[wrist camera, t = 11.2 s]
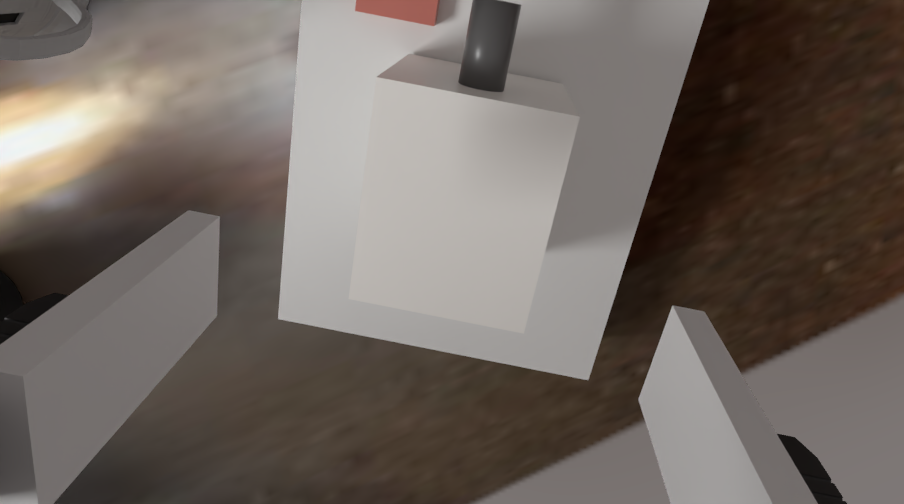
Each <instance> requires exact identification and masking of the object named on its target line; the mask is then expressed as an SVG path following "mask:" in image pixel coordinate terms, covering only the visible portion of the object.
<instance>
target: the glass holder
mask: <svg viewBox="0 0 904 504" xmlns="http://www.w3.org/2000/svg"><path fill="white" fill-rule="evenodd" d="M88 3H89V0H0V60H29V59H42V58H48V57H52V56H57V55H61V54H66V53H70V52H72V51H74V50H76V49H78V48H80V47H82V46H83V45H84V44H85V42H86V41H87V40H88V38H89V37H90V34H91V29H92V21H93V19H92V16H91V14H90V13H89V12H88V11H87V9H86V8H87V6H88Z"/></svg>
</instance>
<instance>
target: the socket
mask: <svg viewBox="0 0 904 504" xmlns="http://www.w3.org/2000/svg"><path fill="white" fill-rule="evenodd" d="M502 1H507V2H512V3H517V4H520V5H521V10H520V15H519V20H518V24H517V29H516V34H515V39H514V44H513V49H512V53H511V58H510V63H509V68H508V73H510V74H515V75H521V76H526V77H531V78H536V79H541V80H546V81H551V82H556V83H562V84H563V85H564V87H565V89H566V91H567V93H568V95H569V96H570V98H571V100H572V102H573V104H574V106H575V108H576V110H577V112H578V114H579V116H580V119H579V123H578V127H577V131H576V134H575V138H574V142H573V146H572V150H571V154H570V158H569V161H568V165H567V169H566V173H565V177H564V181H563V185H562V188H561V192H560V196H559V200H558V204H557V208H556V212H555V215H554V219H553V223H552V227H551V231H550V235H549V239H548V242H547V246H546V250H545V254H544V258H543V262H542V265H541V269H540V273H539V277H538V281H537V285H536V289H535V292H534V296H533V300H532V304H531V308H530V312H529V316H528V319H527V323H526V327H525V331H524V334H523V333H518V332H513V331H508V330H503V329H498V328H493V327H487V326H482V325H477V324H472V323H467V322H462V321H457V320H452V319H447V318H442V317H437V316H432V315H427V314H422V313H417V312H412V311H407V310H402V309H397V308H392V307H386V306H381V305H376V304H371V303H366V302H361V301H356V300H351V299H349V291H350V283H351V275H352V267H353V259H354V251H355V243H356V235H357V227H358V219H359V211H360V203H361V195H362V187H363V179H364V171H365V163H366V155H367V147H368V139H369V131H370V124H371V116H372V108H373V100H374V92H375V84H376V77H377V76H378V75H380V74H381V73H383V72H384V71H385V70H387V69H388V68H390V67H391V66H392V65H394V64H395V63H397V62H398V61H399V60H401V59H402V58H404V57H405V56H406V55H408V54H413V55H418V56H423V57H428V58H433V59H439V60H444V61H449V62H454V63H459V64H462V58H463V52H464V47H465V41H466V35H467V30H468V24H469V18H470V13H471V7H472V2H473V0H302V4H301V17H300V31H299V44H298V58H297V71H296V84H295V98H294V111H293V125H292V138H291V151H290V165H289V178H288V192H287V205H286V219H285V232H284V245H283V259H282V272H281V286H280V299H279V312H278V319H281V320H286V321H291V322H296V323H301V324H306V325H311V326H316V327H321V328H326V329H331V330H336V331H341V332H347V333H352V334H357V335H362V336H367V337H372V338H377V339H382V340H387V341H392V342H397V343H402V344H407V345H412V346H417V347H422V348H427V349H433V350H438V351H443V352H448V353H453V354H458V355H463V356H468V357H473V358H478V359H483V360H488V361H493V362H498V363H503V364H508V365H513V366H519V367H524V368H529V369H534V370H539V371H544V372H549V373H554V374H559V375H564V376H569V377H574V378H579V379H584V380H588V379H589V376H590V373H591V370H592V367H593V364H594V361H595V358H596V354H597V351H598V348H599V345H600V342H601V339H602V336H603V332H604V329H605V326H606V323H607V320H608V317H609V314H610V310H611V307H612V304H613V301H614V298H615V295H616V292H617V289H618V285H619V282H620V279H621V276H622V273H623V270H624V267H625V263H626V260H627V257H628V254H629V251H630V248H631V245H632V242H633V238H634V235H635V232H636V229H637V226H638V223H639V220H640V216H641V213H642V210H643V207H644V204H645V201H646V198H647V194H648V191H649V188H650V185H651V182H652V179H653V176H654V173H655V169H656V166H657V163H658V160H659V157H660V154H661V151H662V147H663V144H664V141H665V138H666V135H667V132H668V129H669V126H670V122H671V119H672V116H673V113H674V110H675V107H676V104H677V100H678V97H679V94H680V91H681V88H682V85H683V82H684V78H685V75H686V72H687V69H688V66H689V63H690V60H691V57H692V53H693V50H694V47H695V44H696V41H697V38H698V35H699V31H700V28H701V25H702V22H703V19H704V16H705V13H706V9H707V6H708V3H709V0H502Z"/></svg>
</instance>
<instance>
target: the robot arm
mask: <svg viewBox="0 0 904 504" xmlns="http://www.w3.org/2000/svg"><path fill="white" fill-rule="evenodd" d="M219 232H220V216H216V215H211V214H205V213H200V212H195V211H190V210H188V211H186V212H185V213H184V214H182V215H181V216H179V217H178V218H177V219H175V220H174V221H172V222H171V223H170V224H168V225H167V226H165V227H164V228H163V229H161V230H160V231H158V232H157V233H156V234H154V235H153V236H151V237H150V238H149V239H147V240H146V241H144V242H143V243H142V244H140V245H139V246H137V247H136V248H135V249H133V250H132V251H130V252H129V253H128V254H126V255H125V256H123V257H122V258H121V259H119V260H118V261H116V262H115V263H114V264H112V265H111V266H109V267H108V268H107V269H105V270H104V271H102V272H101V273H100V274H98V275H97V276H95V277H94V278H93V279H91V280H90V281H88V282H87V283H86V284H84V285H83V286H81V287H80V288H79V289H77V290H76V291H74V292H73V293H72V294H70V295H69V296H68V295H63V294H58V293H53V294H50V295H48V296H45V297H42V298H39V299H36V300H34V301H31V302H28V303H26V304H24V305H23V306H21V307H20V308H18V309H17V310H15V311H14V312H12V313H11V314H9V315H8V316H6V317H5V318H4V321H0V504H54V502H55V501H56V500H57V499H58V498H59V497H60V496H61V494H62V493H63V492H64V491H65V490H66V489H67V488H68V486H69V485H70V484H71V483H72V482H73V481H74V480H75V478H76V477H77V476H78V475H79V474H80V473H81V472H82V470H83V469H84V468H85V467H86V466H87V465H88V463H89V462H90V461H91V460H92V459H93V458H94V457H95V455H96V454H97V453H98V452H99V451H100V450H101V449H102V447H103V446H104V445H105V444H106V443H107V442H108V441H109V439H110V438H111V437H112V436H113V435H114V434H115V433H116V431H117V430H118V429H119V428H120V427H121V426H122V424H123V423H124V422H125V421H126V420H127V419H128V418H129V416H130V415H131V414H132V413H133V412H134V411H135V410H136V408H137V407H138V406H139V405H140V404H141V403H142V402H143V400H144V399H145V398H146V397H147V396H148V395H149V394H150V392H151V391H152V390H153V389H154V388H155V387H156V385H157V384H158V383H159V382H160V381H161V380H162V379H163V377H164V376H165V375H166V374H167V373H168V372H169V371H170V369H171V368H172V367H173V366H174V365H175V364H176V363H177V361H178V360H179V359H180V358H181V357H182V356H183V355H184V353H185V352H186V351H187V350H188V349H189V348H190V346H191V345H192V344H193V343H194V342H195V341H196V340H197V338H198V337H199V336H200V335H201V334H202V333H203V332H204V330H205V329H206V328H207V327H208V326H209V325H210V324H211V322H212V321H213V320H214V319H215V318H216V317H217V300H218V266H219ZM638 400H639V403H640V406H641V409H642V413H643V416H644V419H645V422H646V426H647V429H648V432H649V435H650V438H651V441H652V445H653V448H654V451H655V454H656V458H657V461H658V464H659V467H660V471H661V474H662V477H663V481H664V484H665V486H666V490H667V493H668V497H669V500H670V503H671V504H847V503H846V502H845V501H842V498H843V497H842V495H841V494H840V492H839V491H838V489H837V488H836V486H835V484H833V483H831V478H830V477H829V475H828V474H827V472H826V471H825V469H824V468H823V466H822V465H821V463H820V461H819V460H818V458H817V457H816V456H815V455H814V454H812V453H811V452H810V451H809V450H808V449H807V448H806V447H805V446H804V445H803V444H802V443H800V442H799V441H798V440H797V439H796V438H795V437H791V436H786V435H780V434H776V432H775V430H774V429H773V427H772V425H771V423H770V422H769V420H768V418H767V417H766V415H765V413H764V412H763V410H762V408H761V407H760V405H759V403H758V402H757V400H756V398H755V396H754V395H753V393H752V391H751V390H750V388H749V386H748V385H747V383H746V381H745V379H744V378H743V376H742V374H741V373H740V371H739V369H738V368H737V366H736V364H735V363H734V361H733V359H732V357H731V356H730V354H729V352H728V351H727V349H726V347H725V346H724V344H723V342H722V341H721V339H720V337H719V335H718V334H717V332H716V330H715V329H714V327H713V325H712V324H711V322H710V320H709V319H708V317H707V315H706V313H705V312H704V311H699V310H694V309H689V308H684V307H678V306H673V305H672V308H671V311H670V314H669V316H668V319H667V322H666V325H665V327H664V330H663V333H662V336H661V338H660V341H659V344H658V347H657V349H656V352H655V355H654V358H653V360H652V363H651V366H650V369H649V372H648V374H647V377H646V380H645V383H644V385H643V388H642V391H641V394H640V396H639V399H638Z"/></svg>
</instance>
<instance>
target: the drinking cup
mask: <svg viewBox="0 0 904 504" xmlns="http://www.w3.org/2000/svg"><path fill="white" fill-rule="evenodd" d="M21 306H23V303H22V299H21V296H20V293H19V291H18V290H17V288H16V286H15V285H14V284H13V282H12V281H11V280H10V279H9V278H8V277H7V276H6V275H5V274H4V273H2V272H1V271H0V321H4V318H5V317H6V316H8V315H9V314H11V313H12V312H14V311H15V310H17V309H18V308H20V307H21Z"/></svg>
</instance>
